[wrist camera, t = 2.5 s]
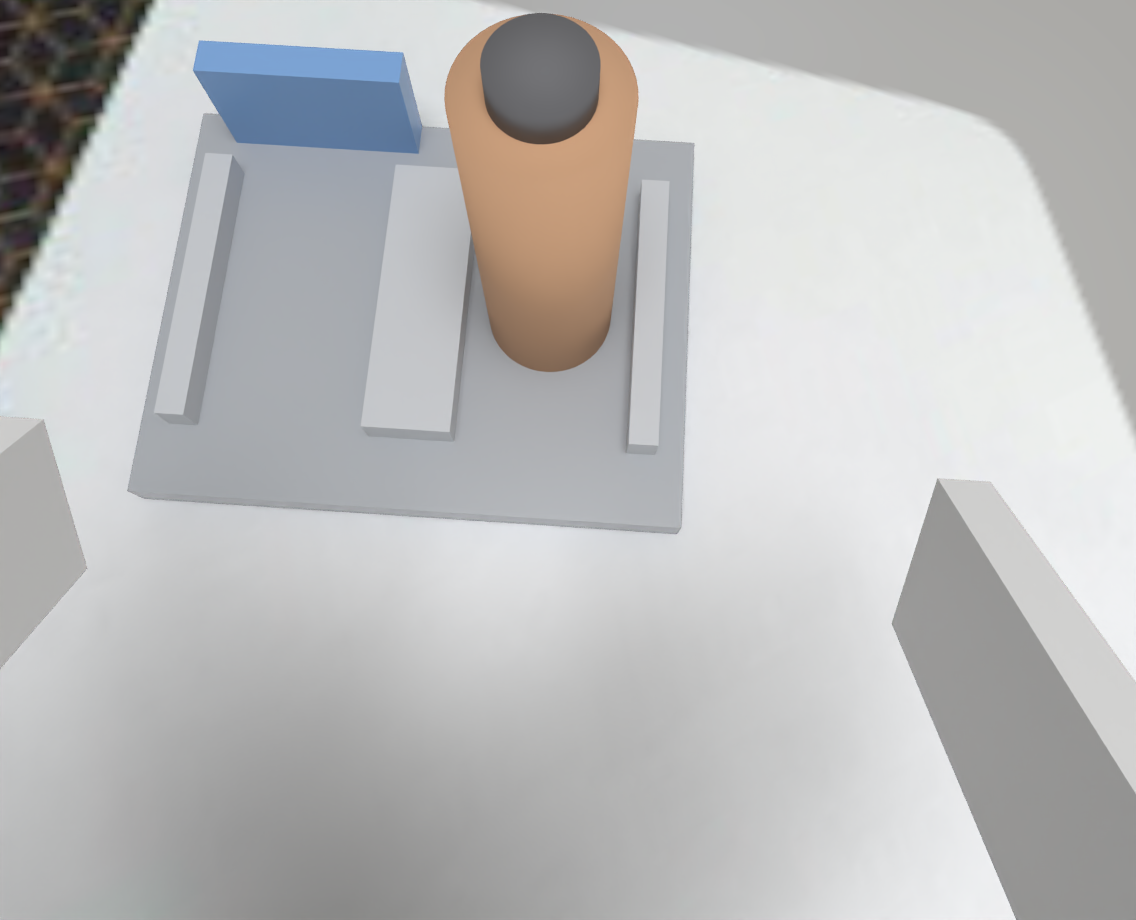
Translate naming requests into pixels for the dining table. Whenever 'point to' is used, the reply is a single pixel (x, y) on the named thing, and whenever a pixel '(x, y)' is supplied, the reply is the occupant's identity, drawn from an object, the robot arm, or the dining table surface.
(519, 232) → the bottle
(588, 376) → the gray ribbed plate
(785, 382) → the dining table surface
